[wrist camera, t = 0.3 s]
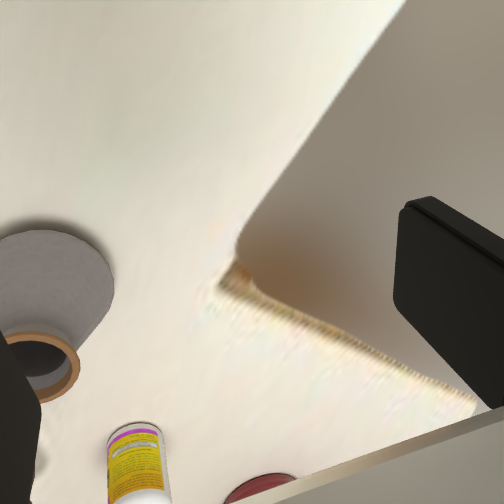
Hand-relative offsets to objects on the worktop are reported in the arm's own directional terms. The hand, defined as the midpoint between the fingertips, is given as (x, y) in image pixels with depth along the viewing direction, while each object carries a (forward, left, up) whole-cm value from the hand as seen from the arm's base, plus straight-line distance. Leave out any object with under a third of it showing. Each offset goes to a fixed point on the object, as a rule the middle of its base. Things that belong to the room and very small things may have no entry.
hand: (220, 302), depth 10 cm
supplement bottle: (+41, -2, -30) cm, 51 cm away
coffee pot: (+22, -10, -30) cm, 38 cm away
